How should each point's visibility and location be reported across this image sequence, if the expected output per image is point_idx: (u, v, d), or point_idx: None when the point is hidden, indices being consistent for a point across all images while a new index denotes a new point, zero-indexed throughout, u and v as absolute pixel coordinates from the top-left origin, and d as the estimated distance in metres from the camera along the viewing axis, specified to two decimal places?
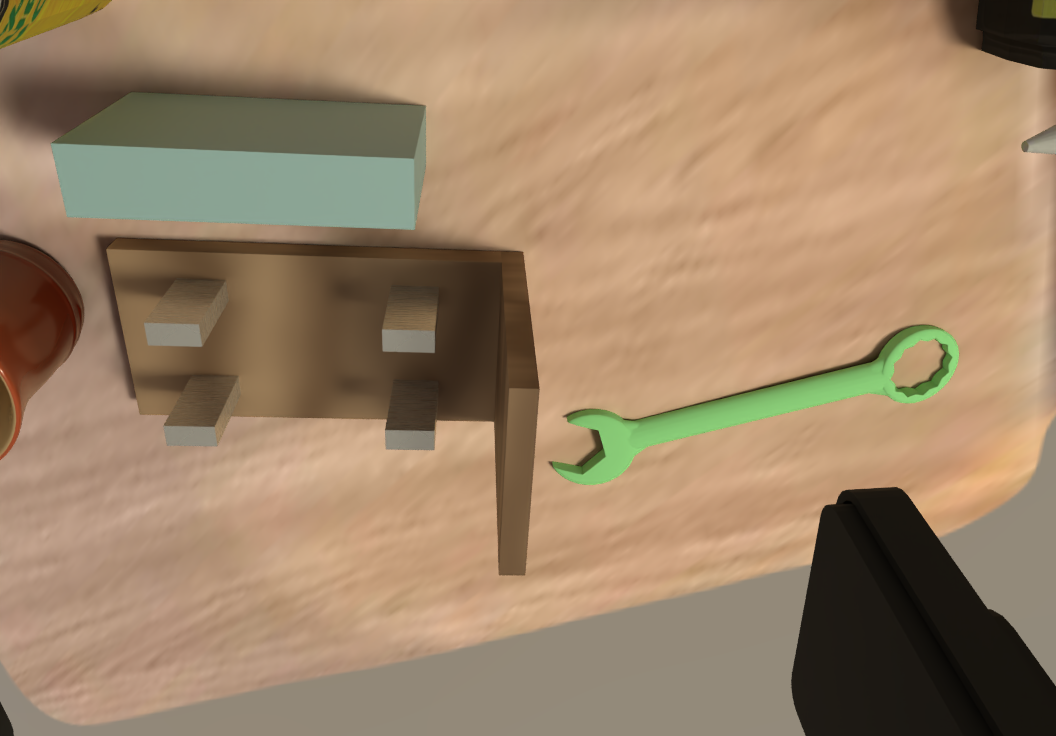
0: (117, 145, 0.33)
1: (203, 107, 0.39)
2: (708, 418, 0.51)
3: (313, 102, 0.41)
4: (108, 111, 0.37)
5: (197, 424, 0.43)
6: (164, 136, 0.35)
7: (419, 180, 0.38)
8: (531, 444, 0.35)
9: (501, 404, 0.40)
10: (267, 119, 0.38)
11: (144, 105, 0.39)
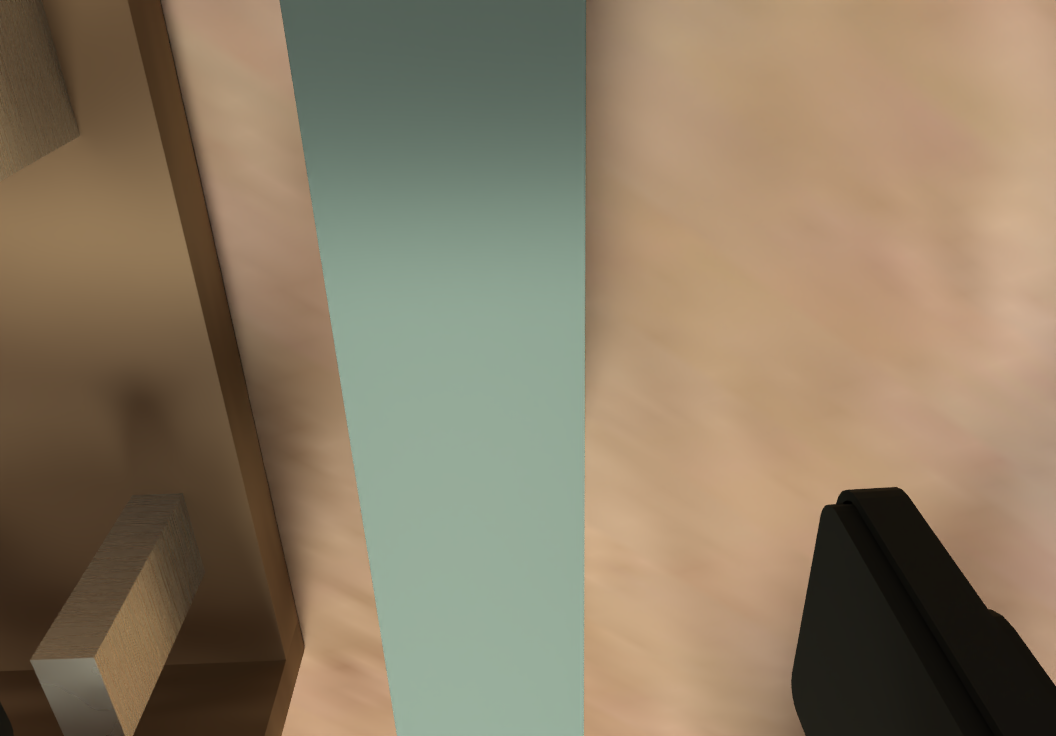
0: (584, 155, 0.09)
1: None
2: None
3: None
4: None
5: None
6: None
7: None
8: None
9: None
10: None
11: None
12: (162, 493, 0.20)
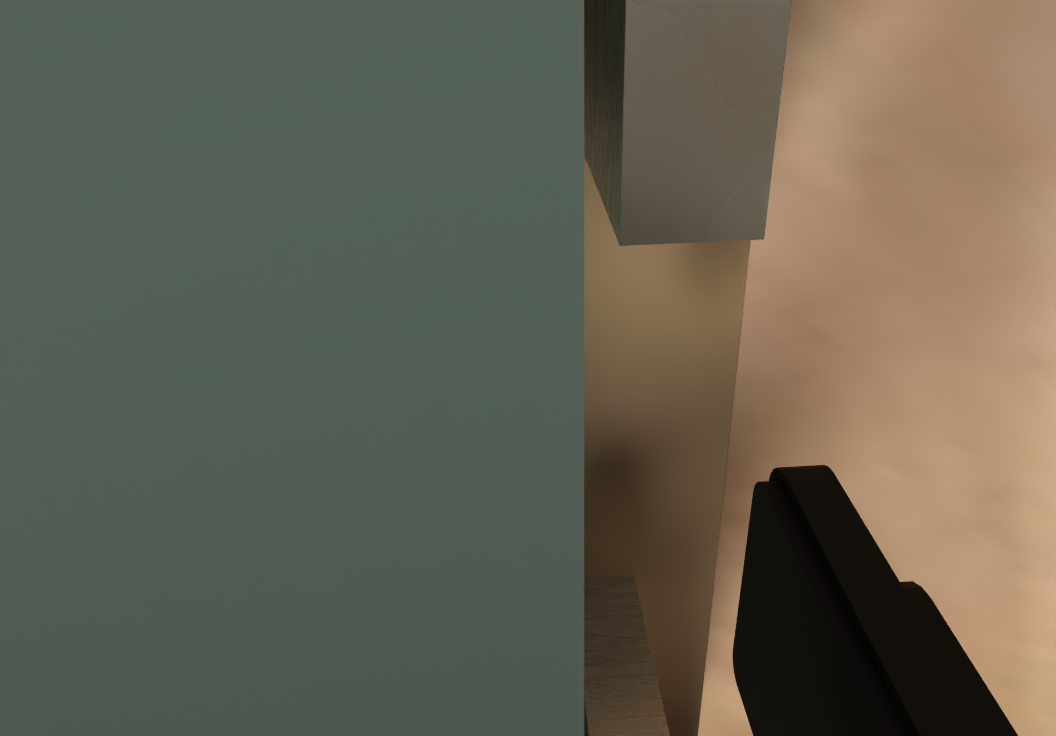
0: (582, 540, 0.03)
1: None
2: None
3: None
4: None
5: None
6: None
7: None
8: None
9: None
10: None
11: None
12: (608, 577, 0.16)
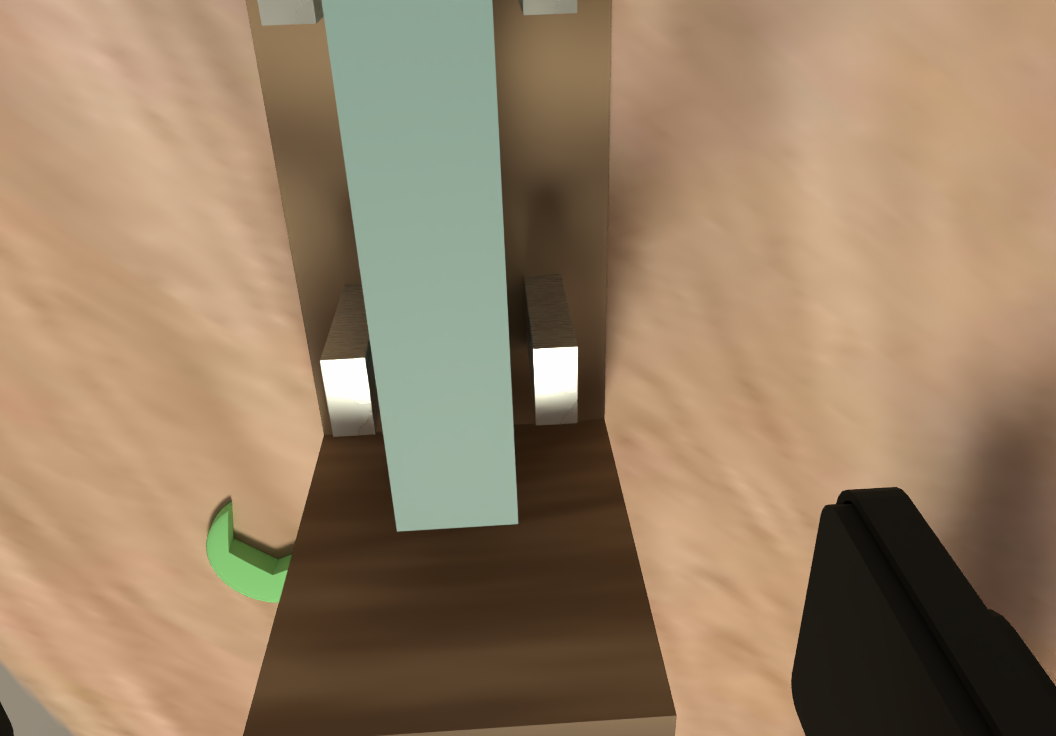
0: (493, 28, 0.15)
1: None
2: None
3: None
4: None
5: None
6: None
7: None
8: None
9: (491, 566, 0.24)
10: None
11: None
12: (546, 274, 0.28)
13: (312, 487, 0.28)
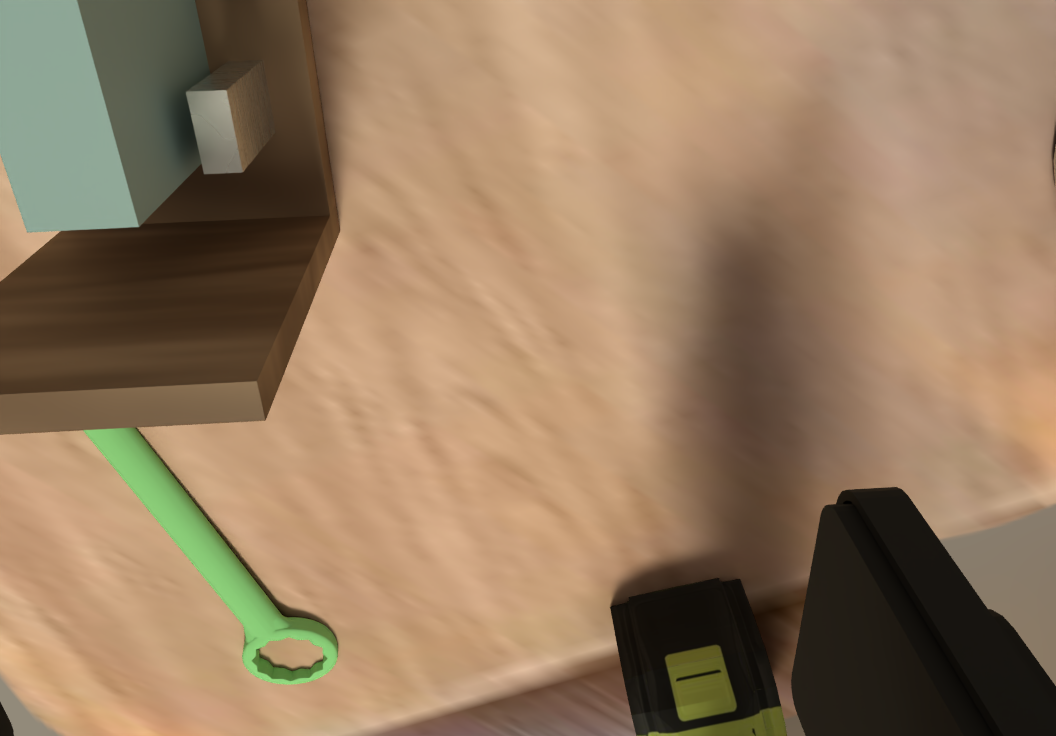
0: None
1: None
2: (152, 485, 0.39)
3: None
4: None
5: None
6: None
7: None
8: (159, 421, 0.22)
9: (158, 300, 0.26)
10: None
11: None
12: (249, 59, 0.30)
13: (31, 257, 0.30)
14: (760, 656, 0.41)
